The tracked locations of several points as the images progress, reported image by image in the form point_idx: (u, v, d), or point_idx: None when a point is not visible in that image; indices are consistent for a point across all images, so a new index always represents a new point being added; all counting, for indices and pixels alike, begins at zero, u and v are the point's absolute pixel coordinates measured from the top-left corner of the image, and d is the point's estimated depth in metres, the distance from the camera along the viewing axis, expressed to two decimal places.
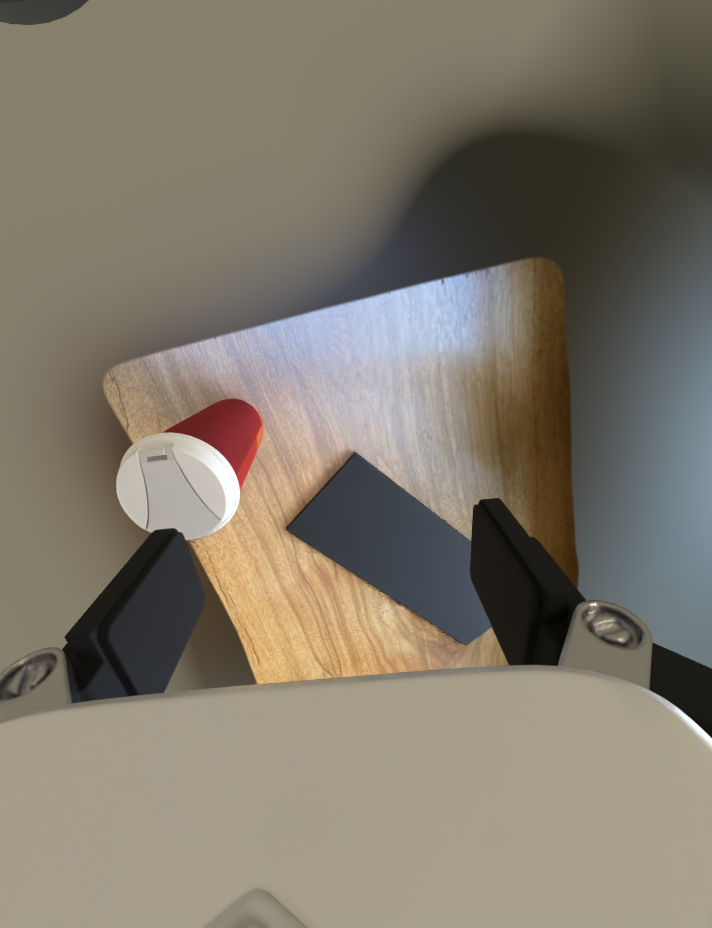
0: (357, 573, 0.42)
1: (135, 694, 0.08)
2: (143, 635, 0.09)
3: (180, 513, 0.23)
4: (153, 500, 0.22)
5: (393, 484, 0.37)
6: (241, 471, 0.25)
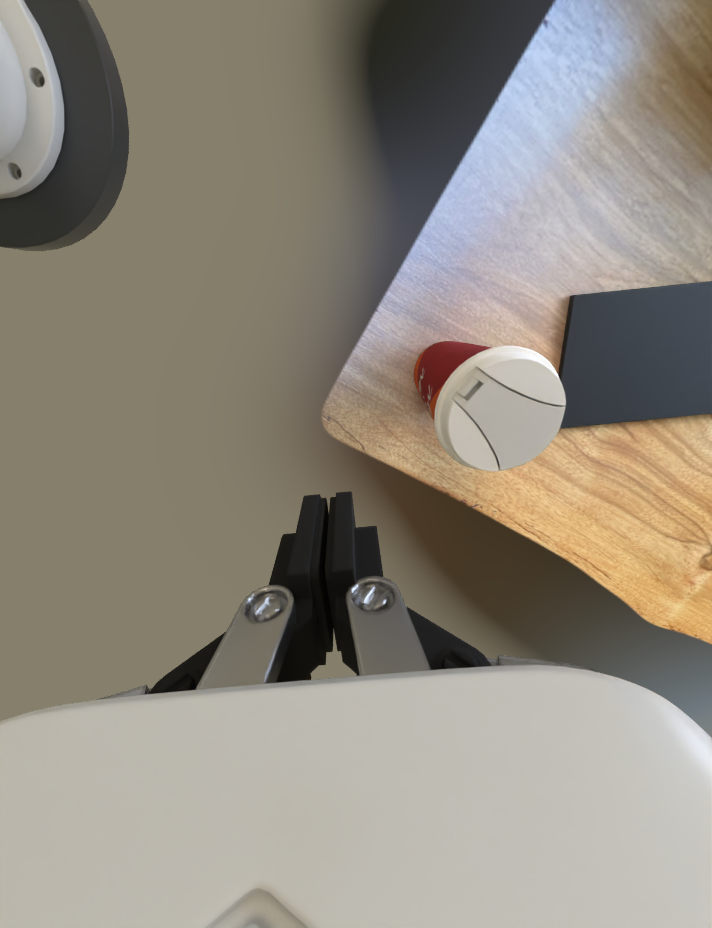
0: (658, 416, 0.35)
1: (325, 632, 0.09)
2: (325, 582, 0.10)
3: (523, 429, 0.20)
4: (492, 435, 0.21)
5: (637, 290, 0.30)
6: None
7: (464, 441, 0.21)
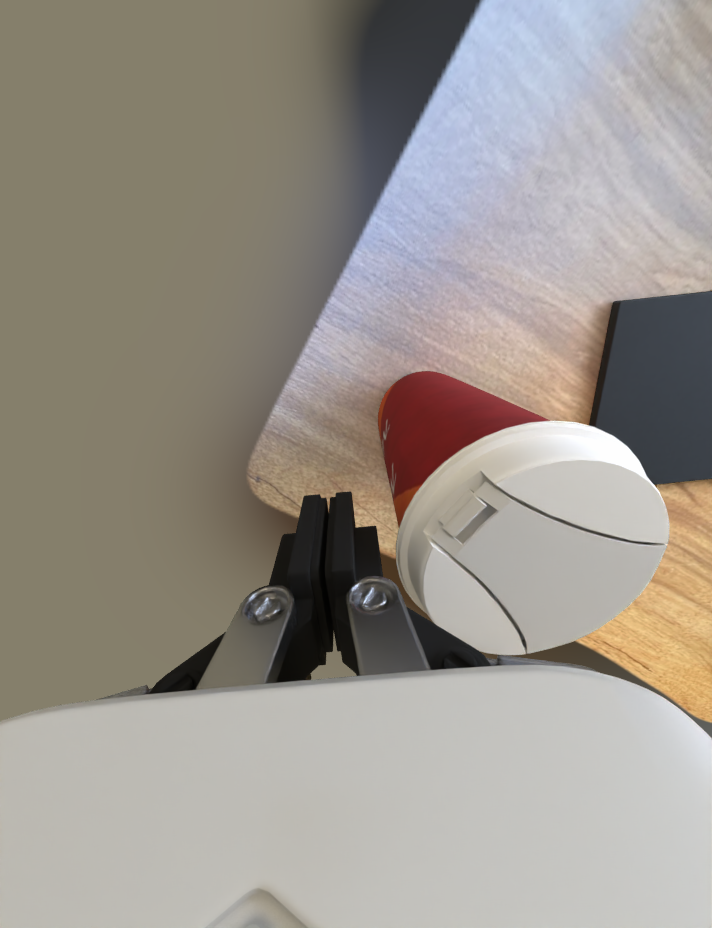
0: None
1: (325, 632, 0.09)
2: (325, 582, 0.10)
3: (577, 587, 0.10)
4: (513, 600, 0.10)
5: None
6: None
7: (457, 612, 0.10)
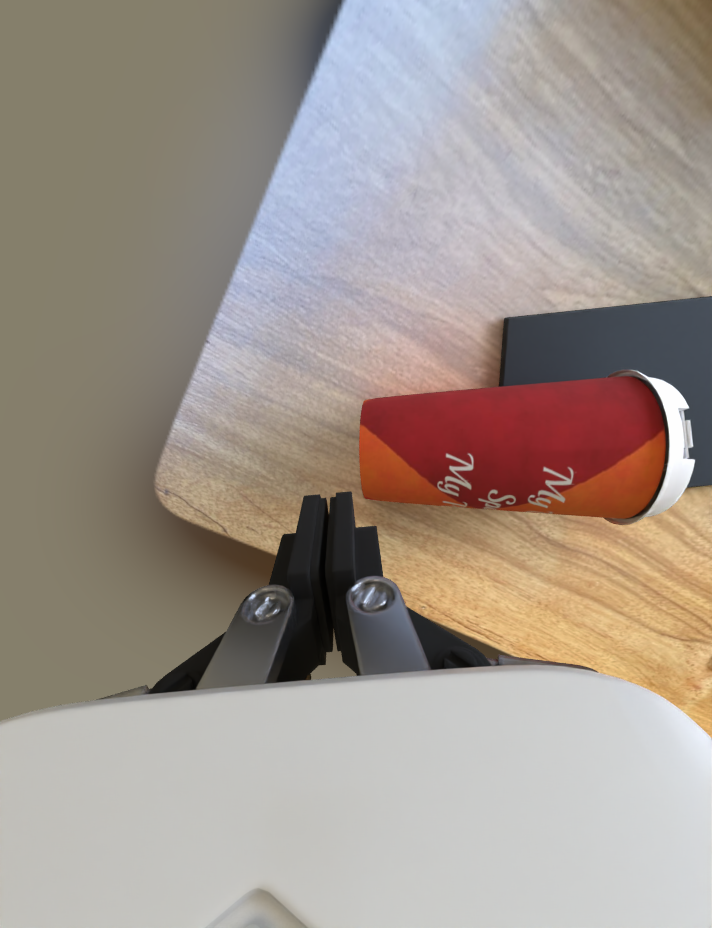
0: None
1: (325, 633, 0.09)
2: (325, 582, 0.10)
3: None
4: None
5: (607, 309, 0.19)
6: None
7: None
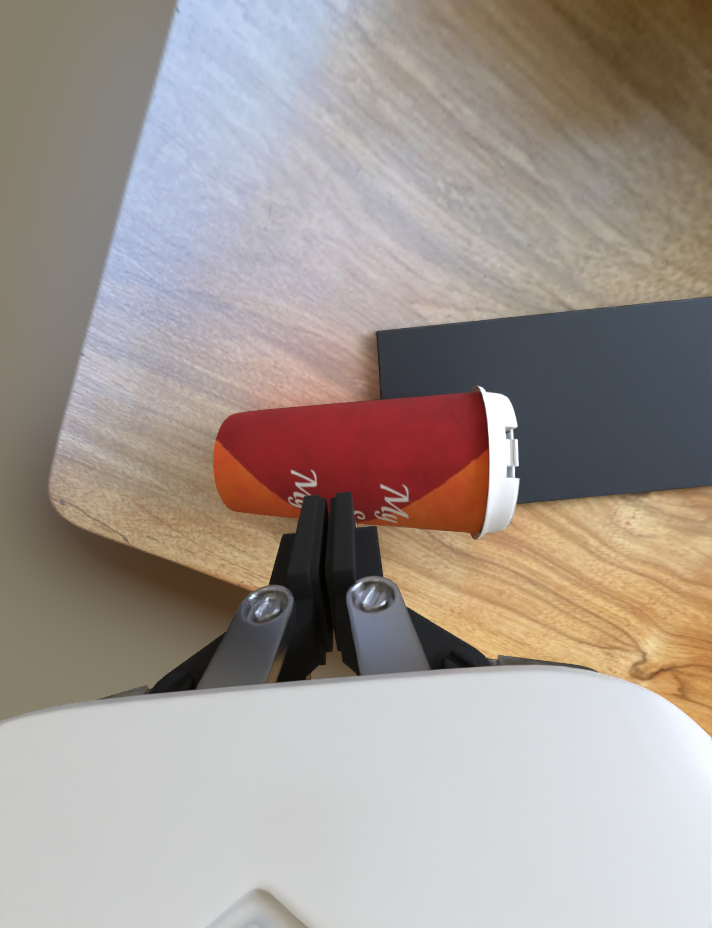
0: (539, 498, 0.24)
1: (325, 632, 0.09)
2: (325, 582, 0.10)
3: None
4: None
5: (475, 323, 0.19)
6: None
7: None
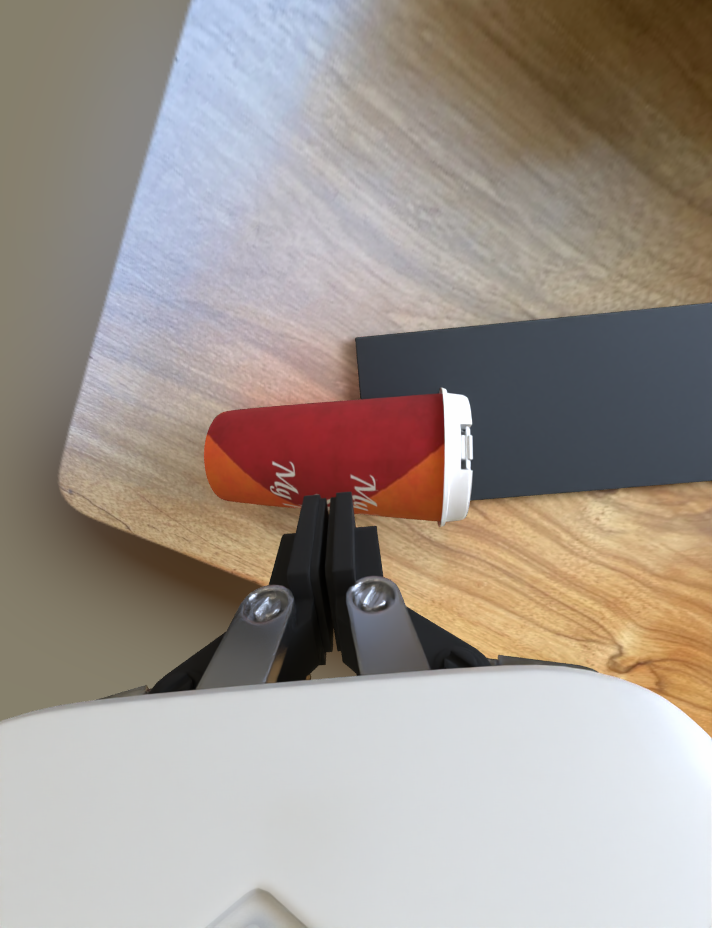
0: (510, 493, 0.26)
1: (325, 632, 0.09)
2: (325, 582, 0.10)
3: None
4: None
5: (445, 331, 0.21)
6: None
7: None
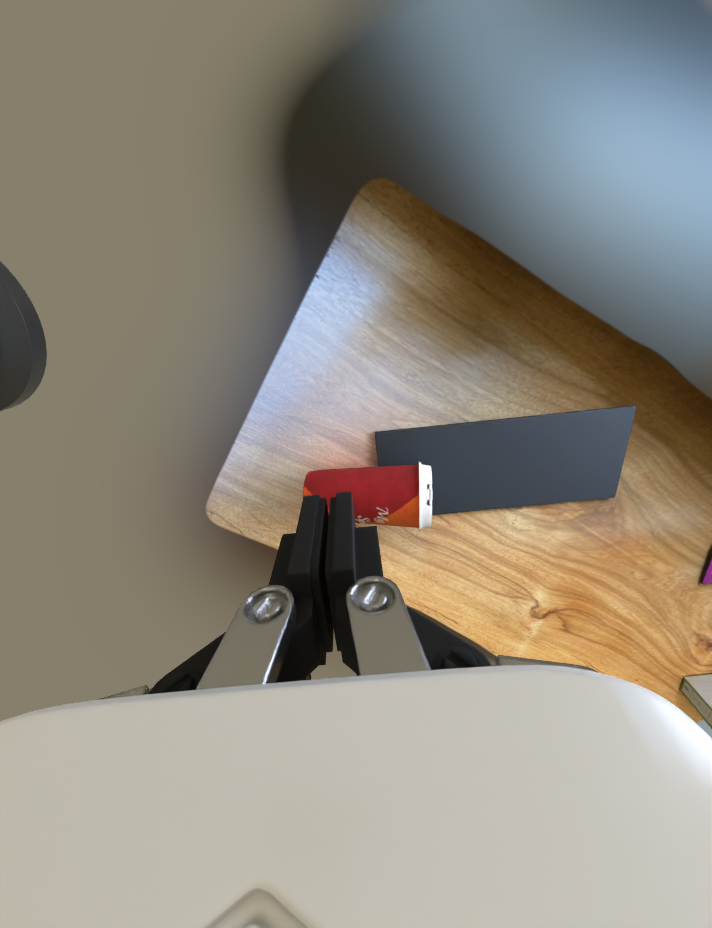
0: (461, 510, 0.46)
1: (325, 633, 0.09)
2: (325, 582, 0.10)
3: None
4: None
5: (421, 429, 0.41)
6: None
7: None
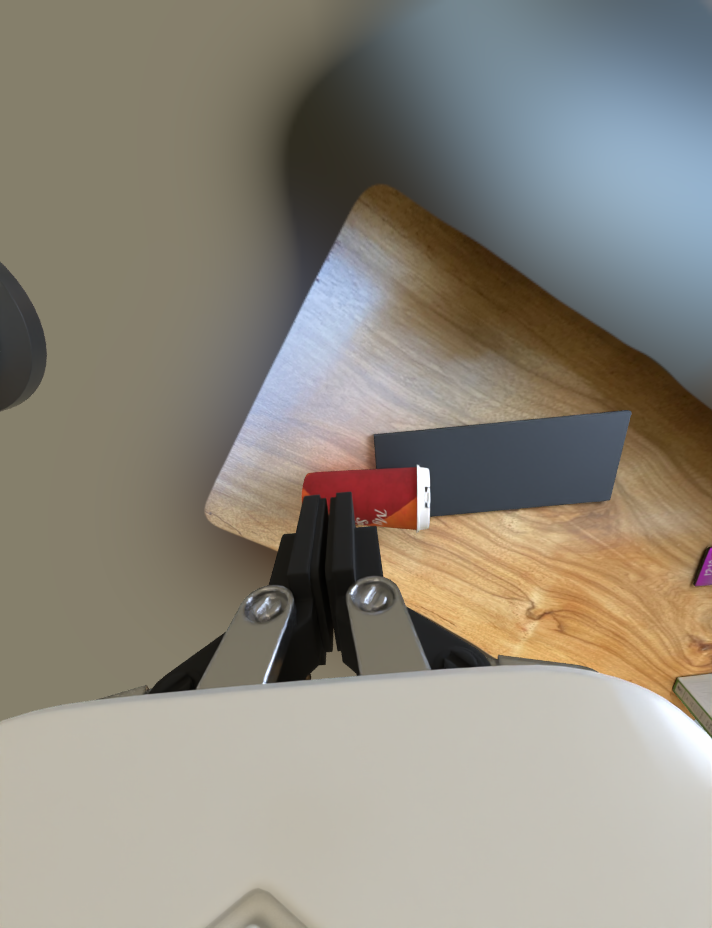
0: (458, 512, 0.46)
1: (325, 632, 0.09)
2: (325, 582, 0.10)
3: None
4: None
5: (419, 432, 0.41)
6: None
7: None
